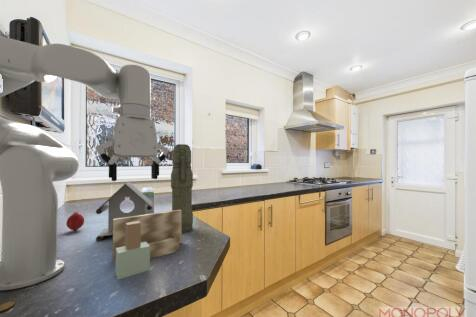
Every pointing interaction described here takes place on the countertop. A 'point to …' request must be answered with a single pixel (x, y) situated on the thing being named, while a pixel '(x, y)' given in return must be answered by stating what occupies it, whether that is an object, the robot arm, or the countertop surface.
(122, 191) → the grey nesting box
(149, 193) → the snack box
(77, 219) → the onion
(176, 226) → the wooden box
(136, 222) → the green and brown block
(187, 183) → the green carved statue
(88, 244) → the countertop surface
